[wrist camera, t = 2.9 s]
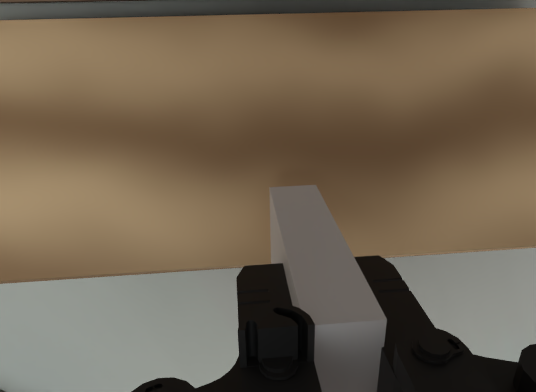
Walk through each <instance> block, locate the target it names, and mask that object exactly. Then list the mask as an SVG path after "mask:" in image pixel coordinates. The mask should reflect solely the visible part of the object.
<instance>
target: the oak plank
mask: <svg viewBox="0 0 536 392" xmlns="http://www.w3.org/2000/svg"><path fill="white" fill-rule="evenodd" d="M302 185H316V186H317V188H318V190H319V191H320V193H321V195H322V197H323V199H324V201H325V203H326V205H327V207H328V209H329V210H330V212H331V214H332V216H333V218H334V220H335V222H336V224H337V226H338V228H339V229H340V231H341V233H342V235H343V237H344V239H345V241H346V243H347V245H348V247H349V248H350V250H351V252H352V254H353V256H354V257H360V256H375V255H379V256H381V257H382V258H389V257H404V256H419V255H433V254H448V253H463V252H478V251H493V250H507V249H522V248H536V8H511V9H468V10H424V11H381V12H338V13H295V14H252V15H208V16H165V17H122V18H79V19H36V20H0V284H3V283H18V282H33V281H48V280H63V279H78V278H92V277H107V276H122V275H137V274H152V273H166V272H181V271H196V270H211V269H226V268H241V267H244V266H247V265H262V264H271V239H270V192H269V187H283V186H302Z"/></svg>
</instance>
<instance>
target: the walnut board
mask: <svg viewBox="0 0 536 392" xmlns="http://www.w3.org/2000/svg"><path fill="white" fill-rule="evenodd" d="M96 1H146V0H0V3H47V2H96Z"/></svg>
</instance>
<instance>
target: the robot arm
mask: <svg viewBox="0 0 536 392" xmlns="http://www.w3.org/2000/svg"><path fill="white" fill-rule="evenodd" d="M269 192H270V239H271V264H262V265H247V266H244V267H243V268H242V270H241V272H240V273H239V275H238V276H237V298H238V321H239V328H238V342H239V357H238V359H237V361H236V363H235V365H234V366H233V367H232V369H231V370H230V371H229V372H228V373H226V374H225V375H224V376H223V377H221V378H220V379H218V380H216V381H213V382H211V383H209V384H206V385H204V386H201V387H198V388H196V389H195V388H194V387H193V386H192V385H190V384H189V383H188V382H187V381H184V380H180V379H177V378H158V379H155V380H152V381H149V382H146V383H144V384H142V385H140V386H139V387H138V388H136V389H135V390H133V391H132V392H536V344H533V345H529V346H528V347H526V348H525V349H523V350H522V352H521V355H520V358H519V362H512V361H505V360H499V359H493V358H486V357H482V356H478V355H473V354H472V353H471V351H470V350H469V349H468V347H467V346H466V345H465V344H464V343H463V342H462V341H460V340H459V339H458V338H457V337H455V336H453V335H451V334H450V333H448V332H446V331H443V330H440V329H436V328H435V327H434V325H433V324H432V322H431V321H430V319H429V318H428V316H427V315H426V313H425V312H424V310H423V309H422V307H421V306H420V304H419V303H418V301H417V300H416V298H415V297H414V295H413V294H412V292H411V291H409V288H408V286H407V285H406V283H405V282H404V280H402V277H401V276H400V274H399V273H398V271H397V270H396V268H395V267H394V265H392V264H391V263H389V262H388V261H386V260H385V259H384V258H382V257H381V256H379V255H375V256H360V257H354V256H353V254H352V252H351V250H350V248H349V247H348V245H347V243H346V241H345V239H344V237H343V235H342V233H341V231H340V229H339V228H338V226H337V224H336V222H335V220H334V218H333V216H332V214H331V212H330V210H329V209H328V207H327V205H326V203H325V201H324V199H323V197H322V195H321V193H320V191H319V190H318V188H317V186H316V185H302V186H283V187H269Z"/></svg>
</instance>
